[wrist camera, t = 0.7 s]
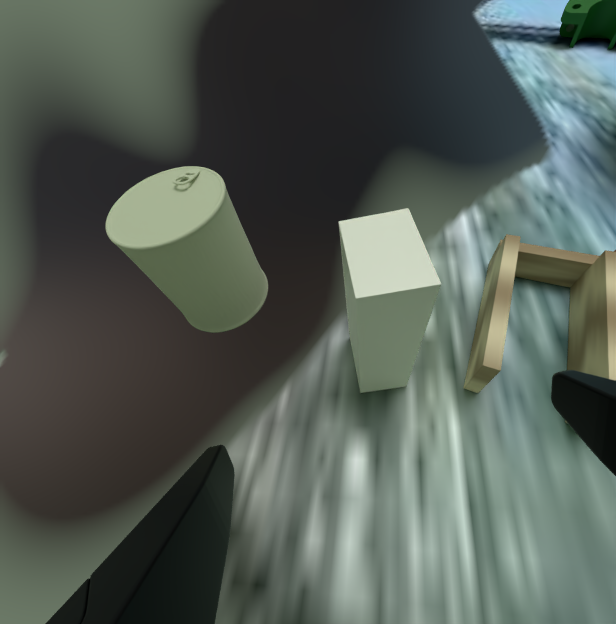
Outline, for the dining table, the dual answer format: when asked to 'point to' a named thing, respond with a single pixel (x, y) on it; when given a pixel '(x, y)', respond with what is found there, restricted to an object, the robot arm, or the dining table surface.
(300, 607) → the dining table surface
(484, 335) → the rack
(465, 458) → the dining table surface
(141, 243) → the can
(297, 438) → the dining table surface
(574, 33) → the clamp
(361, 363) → the tall off-white box
